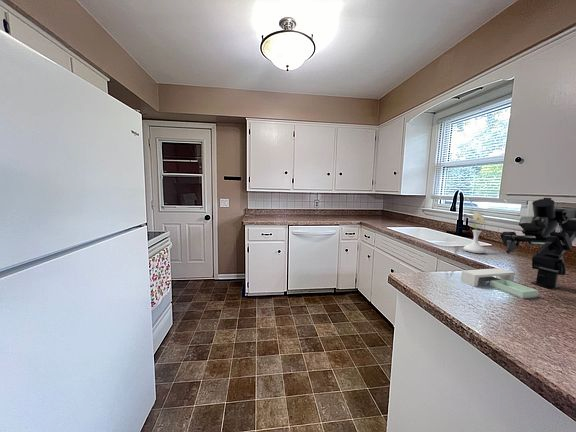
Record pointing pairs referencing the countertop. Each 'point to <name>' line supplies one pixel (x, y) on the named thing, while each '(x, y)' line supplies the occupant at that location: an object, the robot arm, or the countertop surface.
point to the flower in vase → (476, 236)
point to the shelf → (486, 276)
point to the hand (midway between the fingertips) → (522, 253)
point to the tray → (514, 289)
